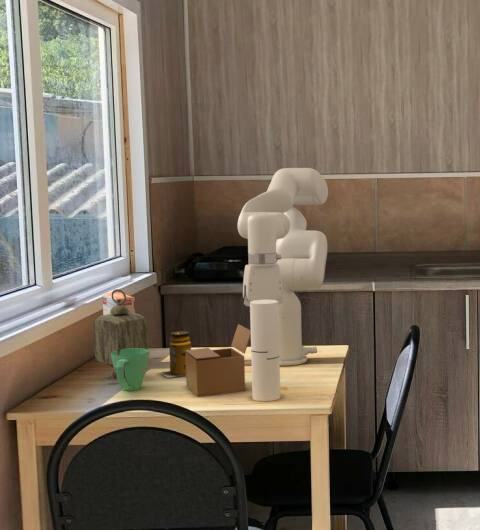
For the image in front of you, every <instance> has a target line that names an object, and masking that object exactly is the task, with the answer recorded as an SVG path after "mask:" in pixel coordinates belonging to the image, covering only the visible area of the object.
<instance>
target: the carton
mask: <svg viewBox="0 0 480 530" xmlns="http://www.w3.org/2000/svg"><path fill="white" fill-rule="evenodd" d="M186 352H187V353H185V356H186V376H185V379H186V380H185V383H186V384H185V385H186V388H187V389H188V390H189V391H191V392H192V393H193V394H194V395H195V396H196V397H205V396H213V395H221V394H231V393H237V392H238V393H239V392H245V391H246V373H245V372H246V371H245V355H243V353H240V351H238V350H235V348H233V347H229V348H228V347H227V348H218V349H211V348H210V347H203V348H193V349H192V348H191V350H186Z"/></svg>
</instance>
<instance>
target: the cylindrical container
mask: <svg viewBox="0 0 480 530" xmlns="http://www.w3.org/2000/svg"><path fill="white" fill-rule="evenodd" d="M249 317H250V318H249V319H250V322H249V323H250V330H251V336H250V354H251V355H250V357H251V358H250V359H251V388H252V389H251V390H252V391H251V392H252V394H251V395H252V397H251V398H252V400H254V401H258V402H272V401H276V400H279V399H281V366H280V358H279V316H278V301H277V300H255V301H251V302H250V307H249Z"/></svg>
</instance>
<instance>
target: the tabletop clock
mask: <svg viewBox="0 0 480 530" xmlns="http://www.w3.org/2000/svg"><path fill="white" fill-rule="evenodd" d="M111 293H112V300H113V301H114V302H115V303H116V304H117V305H116V306H113V307H112V308H111V310H110V313H111V314H108V315H103V314H101V315H100V316H98V317H96V318H95V319H94V320H93V325H92V342H93V352H94V357H95V359H96V361H98V362H100V363H102V364H105V365H108V366H111V367H114V366H113V362H112V358H111V353H112V352H113V351H117V354H118V355H119V352H120V350H121V349H129V348H142V349H147V350H149V335H148V334H149V333H148V326H147V320H146V318H145V317H144V316H143V315H142V314H139V313H136V312H135V313H133V312H129V310H128V309H127V307H126V306H124V305H121V304H124V303H125V301H126V295H127V294H126V293H125V291H123V290H122V289H120V288H117V289H113V290H112V292H111ZM114 293H122V294H123V295H124V301H123V302H121V300H120V299H117V301H116V300H115V299H114V298H113V294H114ZM125 294H126V295H125ZM111 376H112V377H113V378H116V373H115V371H113V372H112V374H111ZM116 379H117V378H116Z"/></svg>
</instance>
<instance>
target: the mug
mask: <svg viewBox="0 0 480 530" xmlns="http://www.w3.org/2000/svg"><path fill="white" fill-rule="evenodd" d="M149 357H150V350H149V349H148V350H147V349H142V348H129V349H121V350H120V352H119V355H118V354H117V351H113V352H112V353H111V358H112V362H113V366H112V367H113V370H114V372H115V373H116V379H117V380H116V381H117V383H118V385H119V387H120V388H121V389H122V391H127V392H128V391H129V392H130V391H131V392H132V391H137V390H140V389H141V388H142V385H143V383H144V380H145V376H146V374H147V370H148V365H149V359H150V358H149Z"/></svg>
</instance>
